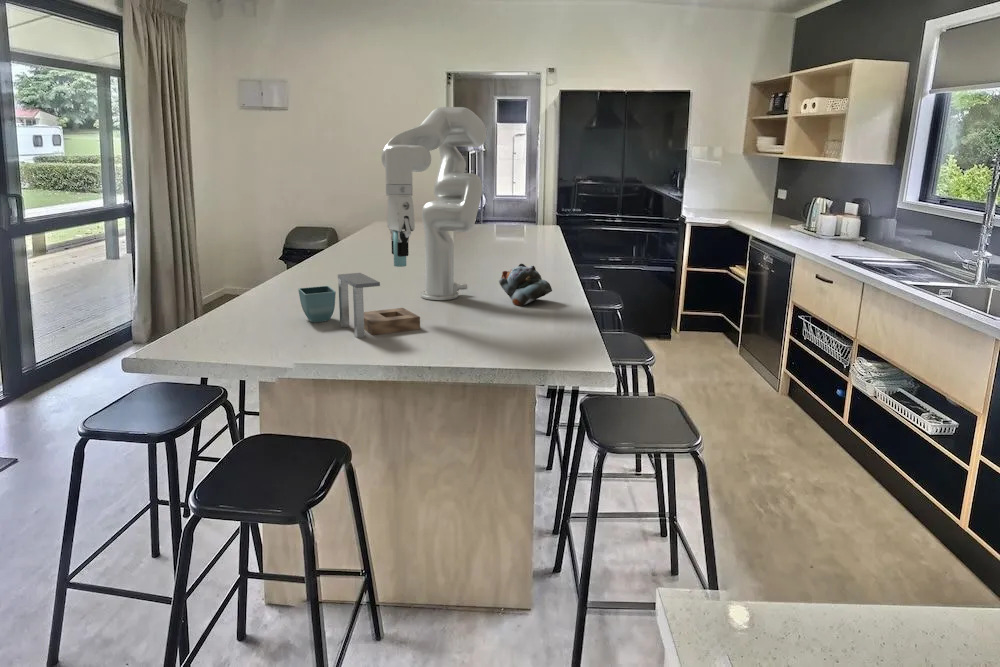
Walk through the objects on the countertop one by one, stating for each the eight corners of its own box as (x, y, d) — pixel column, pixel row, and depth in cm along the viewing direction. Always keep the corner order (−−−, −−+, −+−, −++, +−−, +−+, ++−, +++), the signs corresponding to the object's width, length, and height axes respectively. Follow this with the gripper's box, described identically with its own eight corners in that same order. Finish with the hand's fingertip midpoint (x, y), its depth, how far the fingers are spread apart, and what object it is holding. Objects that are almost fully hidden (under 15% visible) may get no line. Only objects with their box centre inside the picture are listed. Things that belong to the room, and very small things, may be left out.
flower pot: (306, 325, 200) (304, 294, 197) (299, 318, 207) (297, 288, 205) (337, 322, 204) (336, 291, 201) (329, 315, 211) (328, 285, 209)
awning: (361, 322, 203) (360, 272, 199) (381, 335, 191) (379, 282, 187) (339, 325, 200) (337, 274, 196) (357, 338, 188) (356, 284, 184)
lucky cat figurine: (517, 308, 224) (500, 267, 224) (507, 314, 236) (491, 275, 236) (558, 291, 228) (541, 251, 229) (546, 298, 240) (530, 260, 240)
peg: (403, 264, 210) (403, 230, 207) (408, 266, 207) (407, 231, 204) (392, 265, 208) (391, 230, 206) (396, 267, 205) (396, 232, 203)
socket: (403, 319, 208) (402, 307, 207) (420, 329, 198) (419, 316, 197) (356, 324, 201) (356, 312, 200) (372, 335, 191) (371, 322, 190)
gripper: (423, 192, 197) (423, 258, 202) (400, 188, 211) (401, 250, 215) (398, 192, 193) (399, 260, 198) (376, 189, 207) (377, 251, 212)
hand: (400, 254), depth 207 cm, fingers closed on peg, 3 cm apart
